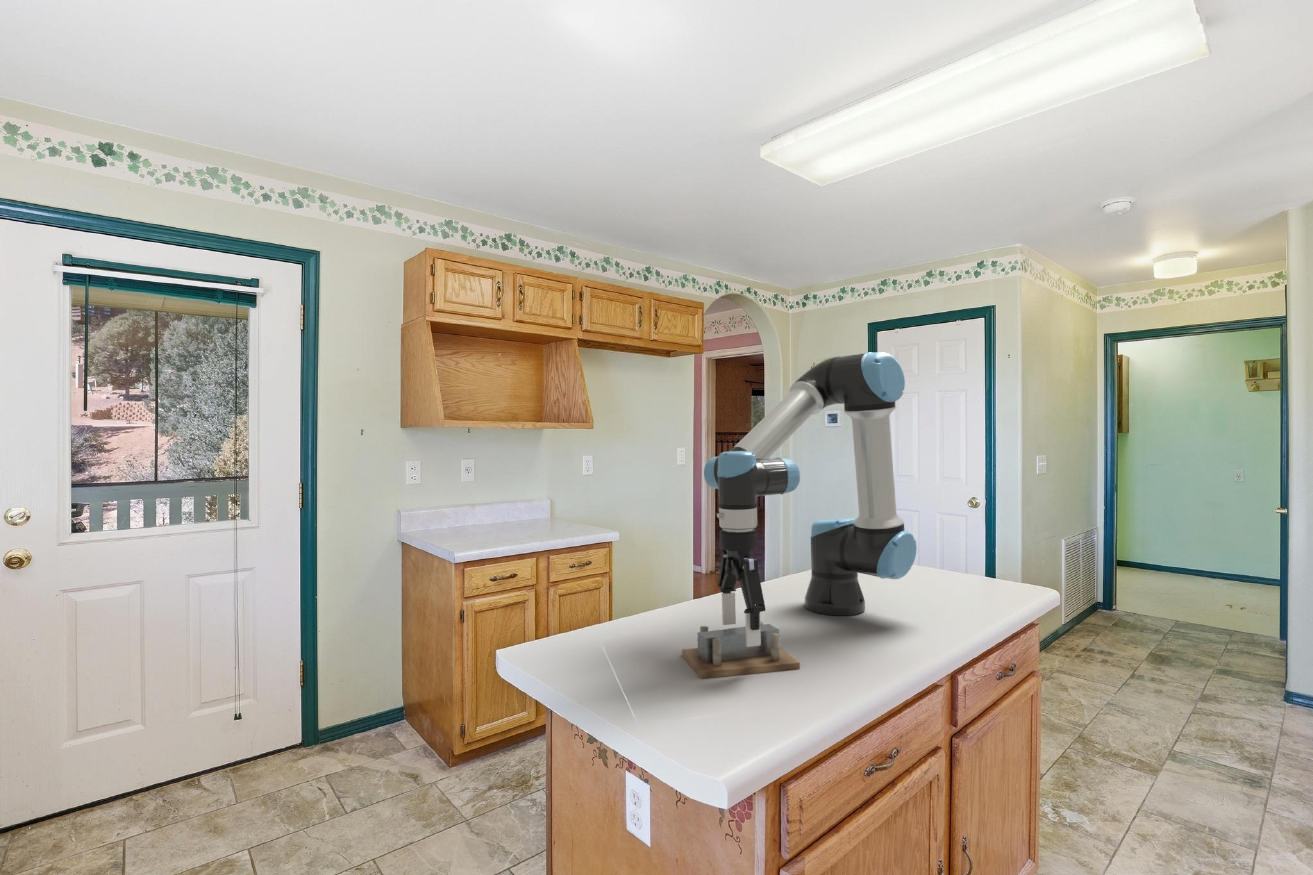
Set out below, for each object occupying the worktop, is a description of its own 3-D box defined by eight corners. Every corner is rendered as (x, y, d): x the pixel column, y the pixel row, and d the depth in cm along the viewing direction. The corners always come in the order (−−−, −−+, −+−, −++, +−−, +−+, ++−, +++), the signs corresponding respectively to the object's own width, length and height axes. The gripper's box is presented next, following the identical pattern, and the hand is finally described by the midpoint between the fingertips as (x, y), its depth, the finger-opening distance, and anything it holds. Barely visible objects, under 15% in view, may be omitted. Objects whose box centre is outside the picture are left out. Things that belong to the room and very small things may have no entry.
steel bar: (769, 647, 133) (768, 623, 133) (778, 654, 129) (778, 629, 129) (697, 657, 128) (697, 632, 128) (705, 664, 124) (705, 638, 124)
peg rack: (772, 646, 137) (772, 617, 137) (799, 668, 124) (799, 636, 124) (682, 655, 132) (682, 625, 132) (700, 678, 120) (700, 645, 120)
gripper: (701, 520, 139) (703, 617, 140) (742, 540, 115) (745, 658, 116) (734, 518, 141) (736, 614, 142) (781, 537, 117) (784, 653, 117)
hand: (740, 634), depth 129 cm, fingers open, 13 cm apart
